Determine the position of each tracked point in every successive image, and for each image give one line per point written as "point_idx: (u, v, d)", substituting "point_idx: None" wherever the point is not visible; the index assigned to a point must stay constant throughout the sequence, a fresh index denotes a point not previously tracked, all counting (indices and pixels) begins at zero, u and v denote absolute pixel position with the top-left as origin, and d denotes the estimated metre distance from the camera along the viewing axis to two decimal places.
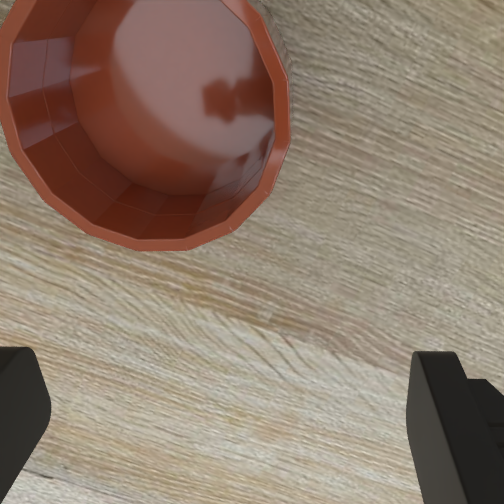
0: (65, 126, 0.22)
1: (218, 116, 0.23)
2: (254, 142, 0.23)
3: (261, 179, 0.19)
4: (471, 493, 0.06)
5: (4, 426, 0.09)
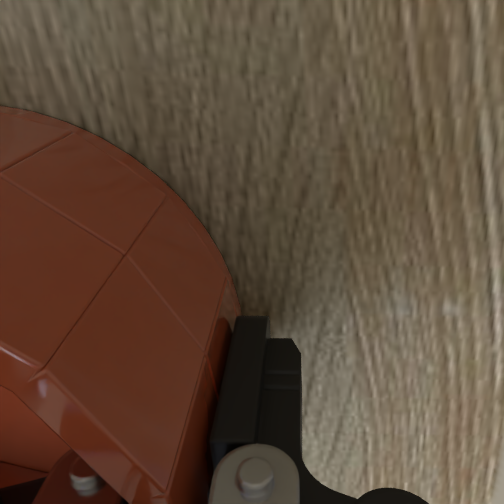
0: None
1: None
2: (50, 457, 0.14)
3: None
4: (220, 419, 0.08)
5: None
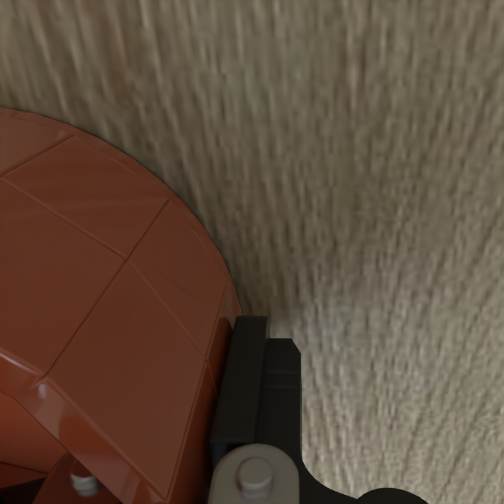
0: None
1: None
2: (50, 458, 0.14)
3: None
4: (219, 419, 0.08)
5: None
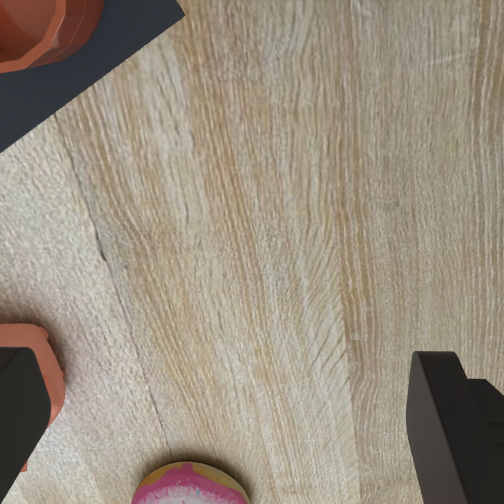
0: None
1: (28, 12, 0.33)
2: (31, 46, 0.34)
3: None
4: (471, 493, 0.06)
5: (4, 426, 0.09)
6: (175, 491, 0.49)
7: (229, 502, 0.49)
